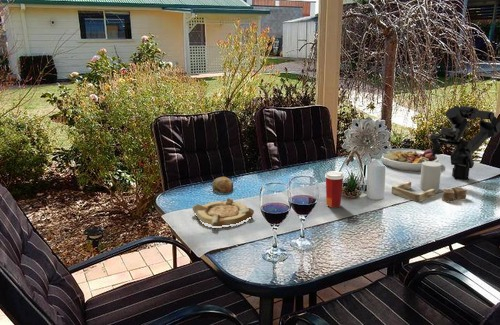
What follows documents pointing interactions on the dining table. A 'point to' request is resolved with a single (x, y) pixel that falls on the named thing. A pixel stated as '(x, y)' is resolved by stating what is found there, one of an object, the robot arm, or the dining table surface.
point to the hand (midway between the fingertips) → (441, 158)
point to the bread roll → (222, 185)
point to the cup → (430, 175)
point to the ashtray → (222, 212)
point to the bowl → (408, 159)
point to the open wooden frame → (402, 191)
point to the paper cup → (334, 188)
